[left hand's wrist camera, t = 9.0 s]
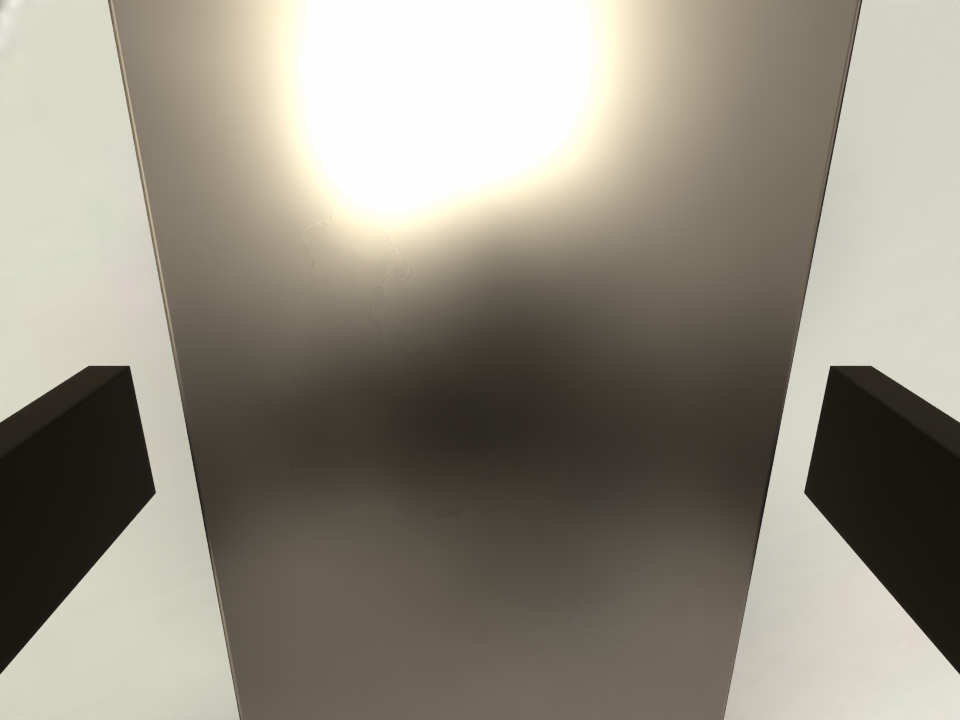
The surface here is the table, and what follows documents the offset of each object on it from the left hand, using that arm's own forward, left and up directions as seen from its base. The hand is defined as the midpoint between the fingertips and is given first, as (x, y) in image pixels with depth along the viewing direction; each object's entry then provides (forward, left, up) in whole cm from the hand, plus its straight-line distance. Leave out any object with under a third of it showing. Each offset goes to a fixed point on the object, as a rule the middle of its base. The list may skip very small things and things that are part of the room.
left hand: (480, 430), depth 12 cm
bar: (+7, +4, -3) cm, 9 cm away
